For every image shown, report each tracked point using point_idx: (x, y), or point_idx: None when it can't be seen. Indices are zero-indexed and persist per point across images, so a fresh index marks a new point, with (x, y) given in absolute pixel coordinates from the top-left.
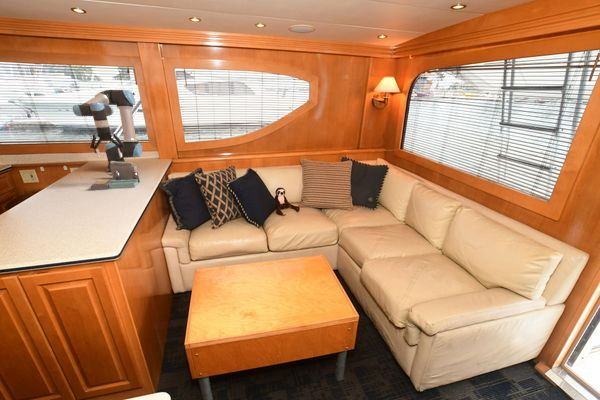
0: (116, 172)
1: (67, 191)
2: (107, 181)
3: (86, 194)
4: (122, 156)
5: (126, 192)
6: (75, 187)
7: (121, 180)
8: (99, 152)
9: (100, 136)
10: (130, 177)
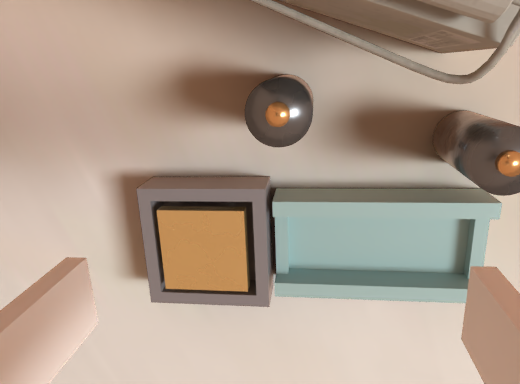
0: (289, 142)
1: (15, 265)
2: (242, 238)
3: (173, 351)
4: (497, 270)
5: (430, 376)
6: (8, 186)
7: (353, 214)
8: (18, 326)
9: None
10: (384, 31)
